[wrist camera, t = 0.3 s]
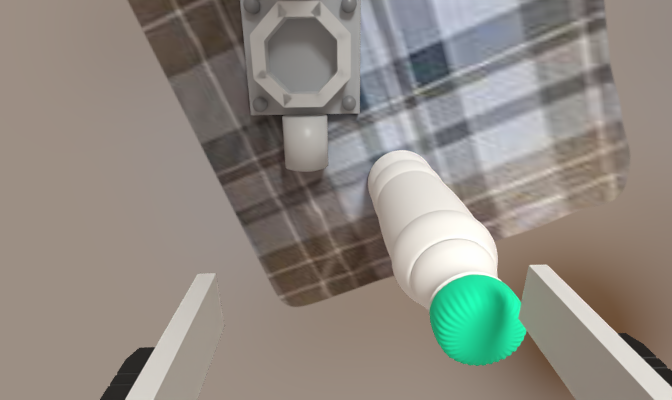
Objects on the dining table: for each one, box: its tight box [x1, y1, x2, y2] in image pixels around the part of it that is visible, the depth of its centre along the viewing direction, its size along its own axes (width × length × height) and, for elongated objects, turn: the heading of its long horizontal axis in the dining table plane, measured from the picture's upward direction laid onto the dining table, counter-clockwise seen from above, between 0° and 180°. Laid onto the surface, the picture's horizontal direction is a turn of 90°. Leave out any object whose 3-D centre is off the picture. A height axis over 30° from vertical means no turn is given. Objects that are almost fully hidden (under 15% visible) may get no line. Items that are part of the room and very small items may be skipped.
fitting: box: [240, 0, 361, 172], centre depth 36 cm, size 16×11×4 cm
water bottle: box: [368, 150, 526, 366], centre depth 31 cm, size 7×7×25 cm
